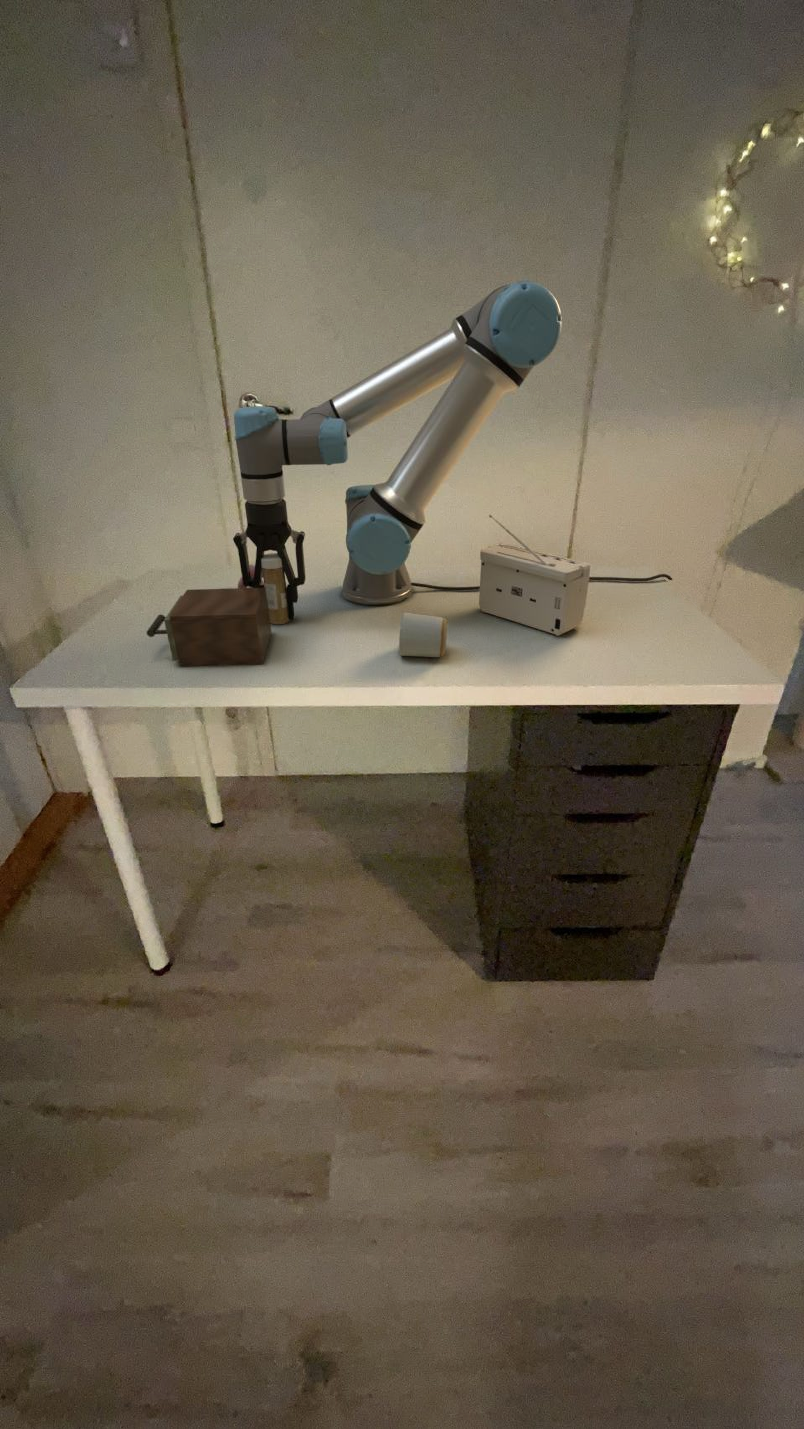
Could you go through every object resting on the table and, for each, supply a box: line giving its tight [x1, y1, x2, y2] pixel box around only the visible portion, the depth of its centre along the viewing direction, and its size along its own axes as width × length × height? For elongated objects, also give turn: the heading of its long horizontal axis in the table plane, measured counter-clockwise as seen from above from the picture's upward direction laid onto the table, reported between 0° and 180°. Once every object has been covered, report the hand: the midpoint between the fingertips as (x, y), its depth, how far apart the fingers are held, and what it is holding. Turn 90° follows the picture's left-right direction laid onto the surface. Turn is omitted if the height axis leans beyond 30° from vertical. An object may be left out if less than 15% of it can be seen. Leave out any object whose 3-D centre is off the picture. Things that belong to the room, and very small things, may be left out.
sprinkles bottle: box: [261, 552, 291, 625], centre depth 129 cm, size 5×5×13 cm
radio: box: [478, 514, 591, 637], centre depth 126 cm, size 21×8×20 cm, turn 47°
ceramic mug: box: [398, 612, 448, 658], centre depth 118 cm, size 11×8×8 cm
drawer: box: [146, 595, 183, 661], centre depth 118 cm, size 18×11×8 cm, turn 92°
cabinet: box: [169, 587, 272, 667], centre depth 119 cm, size 15×13×10 cm
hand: (279, 617), depth 132 cm, fingers closed on sprinkles bottle, 4 cm apart
